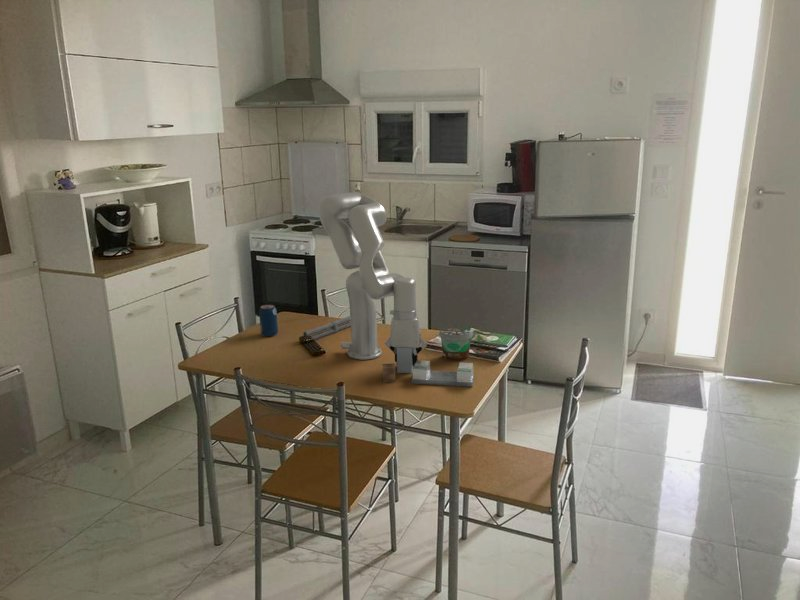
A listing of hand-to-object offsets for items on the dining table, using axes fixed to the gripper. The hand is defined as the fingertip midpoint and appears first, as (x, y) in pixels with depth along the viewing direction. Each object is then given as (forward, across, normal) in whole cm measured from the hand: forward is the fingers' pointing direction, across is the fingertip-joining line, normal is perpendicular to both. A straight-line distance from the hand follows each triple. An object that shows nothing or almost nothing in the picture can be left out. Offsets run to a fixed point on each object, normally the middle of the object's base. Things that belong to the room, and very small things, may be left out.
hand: (406, 363), depth 227 cm
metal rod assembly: (+2, -38, +32) cm, 50 cm away
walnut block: (+2, -4, -10) cm, 11 cm away
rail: (+2, +14, -8) cm, 16 cm away
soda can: (+2, -62, +28) cm, 68 cm away
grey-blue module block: (+2, 0, 0) cm, 2 cm away
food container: (+2, +16, +12) cm, 20 cm away
